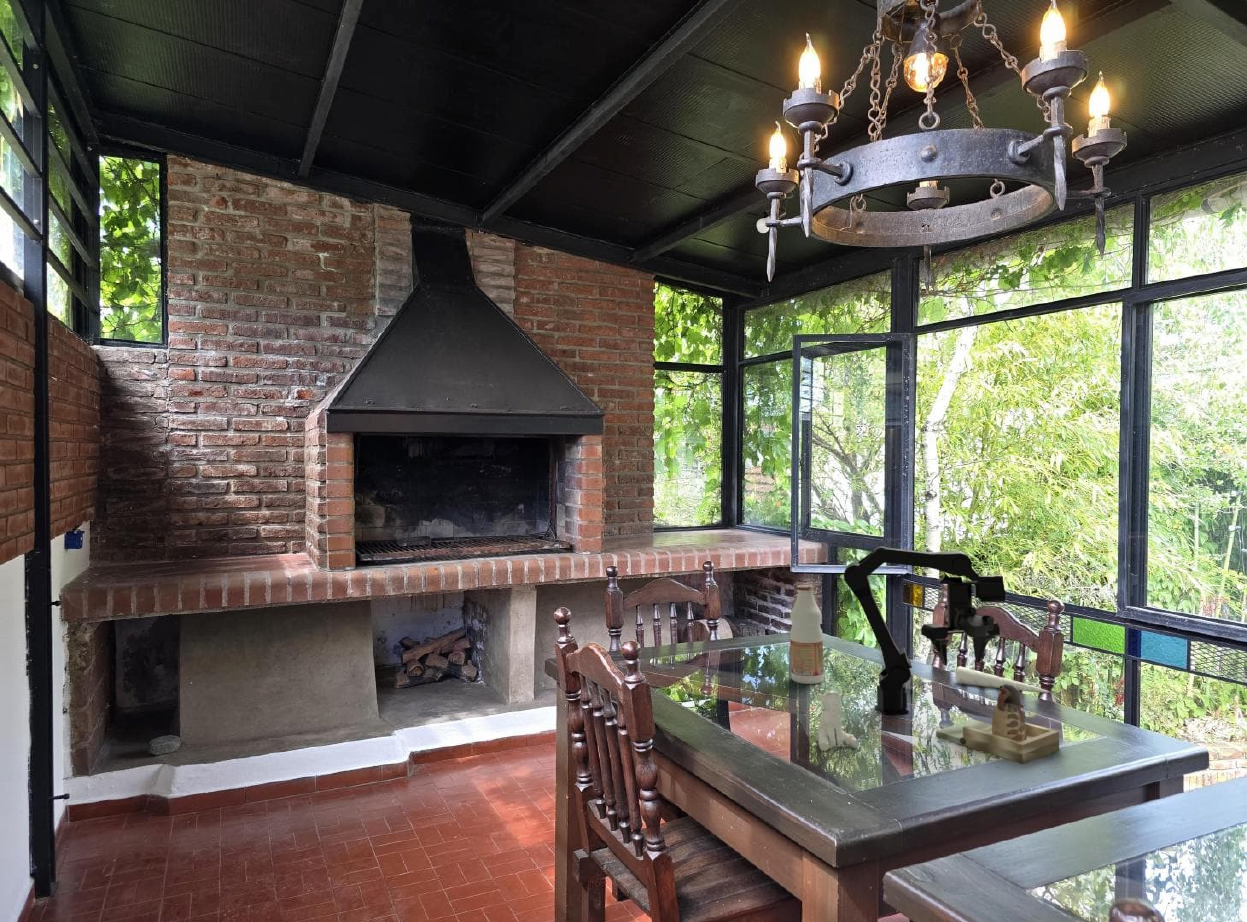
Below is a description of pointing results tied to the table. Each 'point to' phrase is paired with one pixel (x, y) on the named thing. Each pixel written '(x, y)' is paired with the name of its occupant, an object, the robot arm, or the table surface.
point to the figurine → (1009, 715)
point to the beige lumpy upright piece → (833, 724)
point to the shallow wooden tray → (1003, 740)
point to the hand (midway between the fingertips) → (961, 663)
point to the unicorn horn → (990, 680)
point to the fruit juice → (806, 638)
